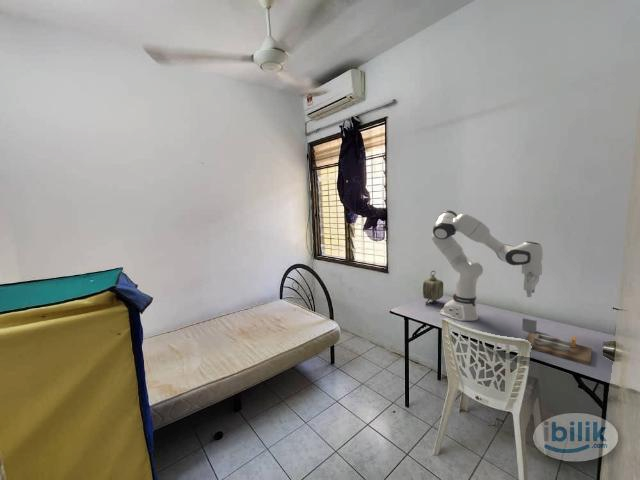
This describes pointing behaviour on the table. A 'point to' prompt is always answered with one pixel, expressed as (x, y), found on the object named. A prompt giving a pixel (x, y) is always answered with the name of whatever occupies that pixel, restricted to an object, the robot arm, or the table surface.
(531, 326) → the module
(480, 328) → the table surface
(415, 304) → the table surface
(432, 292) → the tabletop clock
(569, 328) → the table surface
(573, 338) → the latch gate
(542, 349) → the rail base
